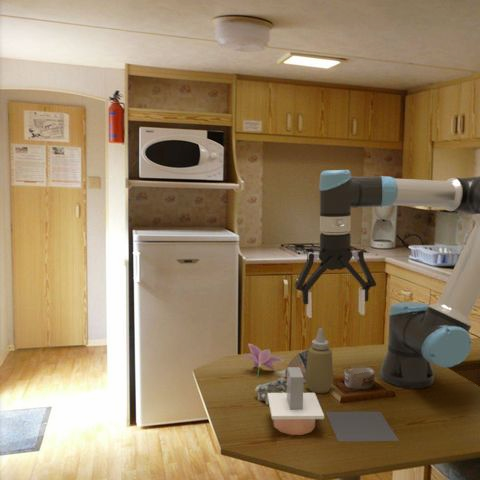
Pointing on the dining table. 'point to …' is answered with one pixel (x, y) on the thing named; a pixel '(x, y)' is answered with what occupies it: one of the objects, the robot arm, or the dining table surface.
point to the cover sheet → (294, 414)
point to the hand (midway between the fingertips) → (335, 315)
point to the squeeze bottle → (319, 365)
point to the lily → (262, 357)
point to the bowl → (294, 426)
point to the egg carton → (271, 389)
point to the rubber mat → (360, 426)
